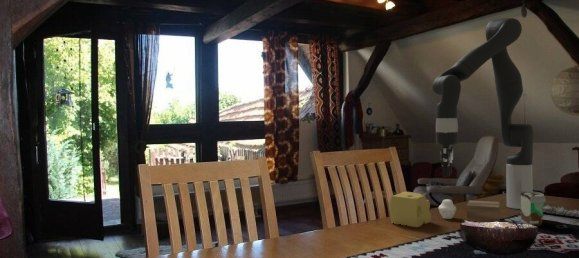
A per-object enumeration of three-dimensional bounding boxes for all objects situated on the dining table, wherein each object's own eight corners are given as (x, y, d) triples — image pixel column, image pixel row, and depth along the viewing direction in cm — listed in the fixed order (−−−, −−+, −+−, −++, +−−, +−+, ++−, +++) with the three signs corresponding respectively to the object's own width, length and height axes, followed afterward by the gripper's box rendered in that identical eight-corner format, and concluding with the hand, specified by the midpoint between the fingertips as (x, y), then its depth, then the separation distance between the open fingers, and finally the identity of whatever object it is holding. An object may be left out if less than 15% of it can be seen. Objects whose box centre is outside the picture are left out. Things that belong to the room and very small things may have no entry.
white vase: (457, 220, 155) (456, 200, 155) (438, 219, 157) (438, 200, 157) (455, 216, 161) (455, 197, 161) (438, 215, 163) (438, 197, 163)
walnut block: (469, 216, 161) (469, 200, 161) (499, 218, 156) (499, 202, 156) (467, 222, 152) (467, 205, 152) (499, 225, 147) (499, 207, 147)
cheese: (431, 222, 154) (431, 193, 154) (417, 228, 146) (416, 198, 146) (404, 218, 161) (403, 191, 161) (389, 223, 153) (388, 195, 153)
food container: (552, 227, 143) (551, 197, 143) (531, 227, 144) (531, 196, 144) (538, 218, 155) (538, 190, 155) (519, 218, 156) (519, 190, 156)
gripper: (438, 130, 166) (438, 173, 167) (433, 131, 154) (433, 177, 154) (459, 130, 163) (460, 173, 164) (456, 131, 150) (456, 178, 151)
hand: (447, 175), depth 159 cm, fingers open, 8 cm apart
